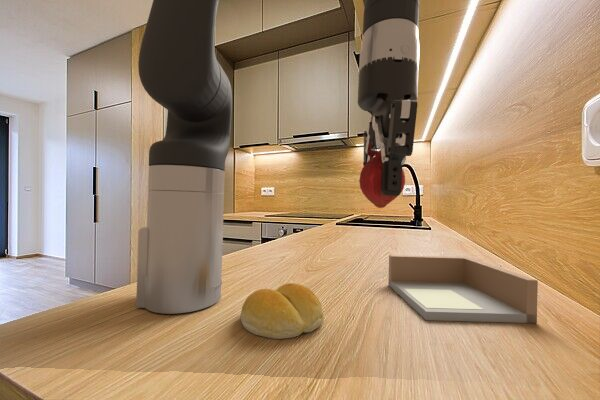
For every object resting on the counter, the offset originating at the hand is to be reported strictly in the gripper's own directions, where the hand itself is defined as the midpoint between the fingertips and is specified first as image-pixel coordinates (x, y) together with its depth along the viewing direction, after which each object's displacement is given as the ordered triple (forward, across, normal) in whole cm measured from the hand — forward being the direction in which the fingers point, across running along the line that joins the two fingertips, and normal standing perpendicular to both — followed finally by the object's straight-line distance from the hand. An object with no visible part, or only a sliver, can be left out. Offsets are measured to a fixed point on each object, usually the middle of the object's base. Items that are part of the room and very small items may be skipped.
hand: (382, 195), depth 35 cm
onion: (+2, 0, 0) cm, 2 cm away
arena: (+14, -2, +11) cm, 18 cm away
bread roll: (+15, +5, -12) cm, 20 cm away
